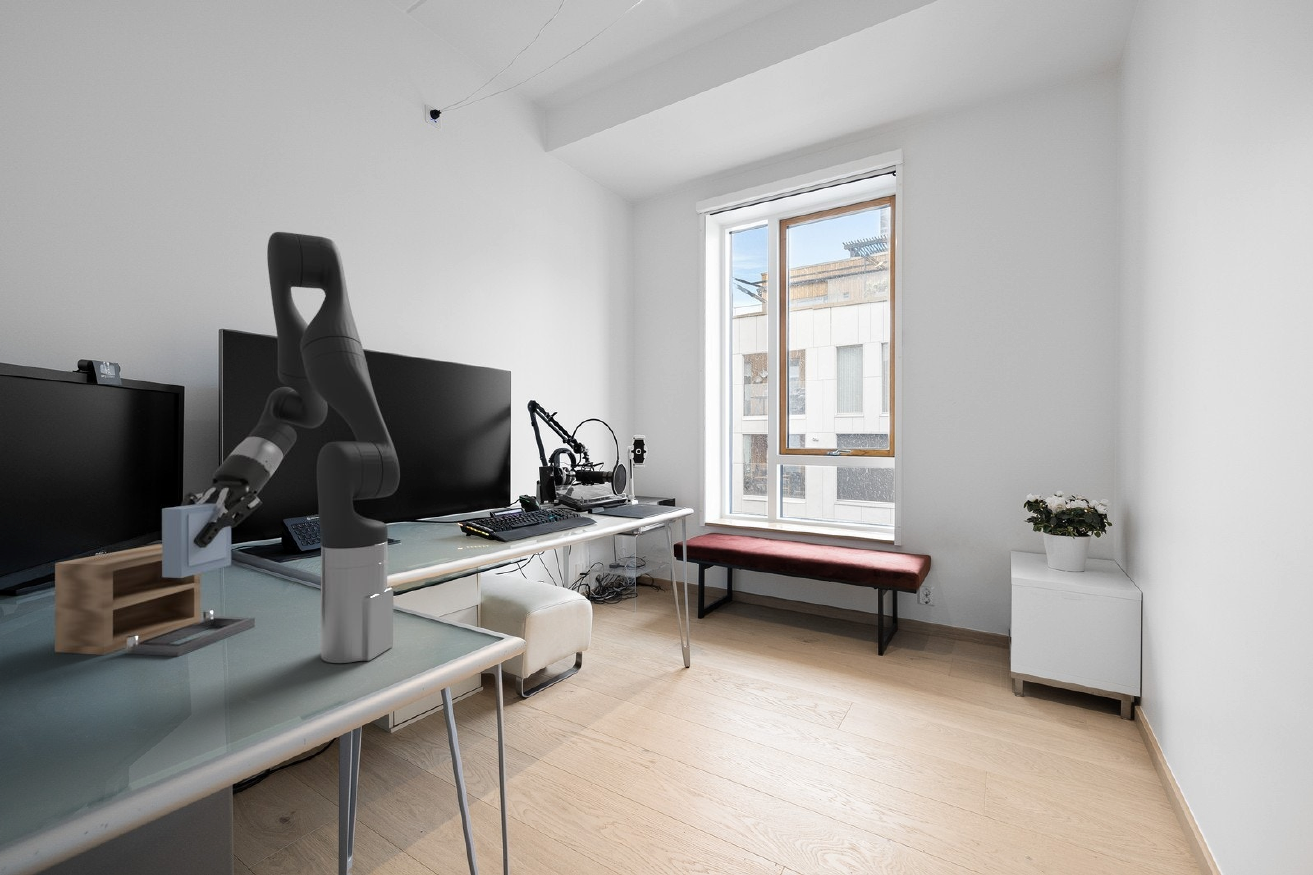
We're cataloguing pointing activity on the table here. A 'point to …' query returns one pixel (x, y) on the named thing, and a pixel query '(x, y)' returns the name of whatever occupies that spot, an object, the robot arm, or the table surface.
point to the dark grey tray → (162, 642)
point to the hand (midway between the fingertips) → (187, 544)
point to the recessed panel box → (191, 542)
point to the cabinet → (120, 600)
